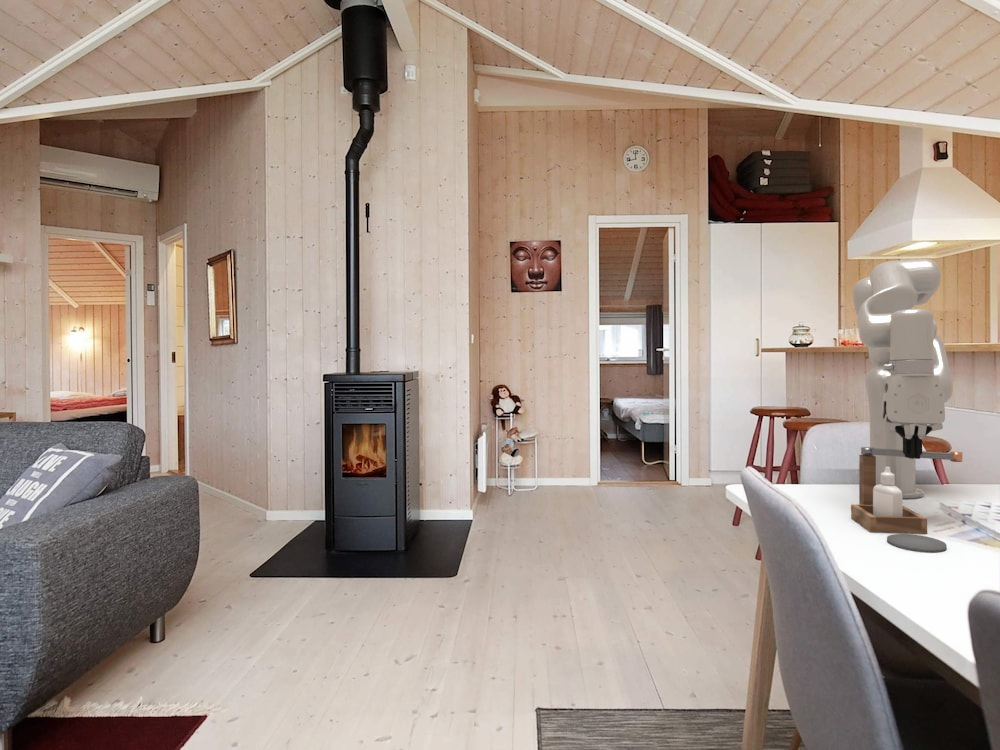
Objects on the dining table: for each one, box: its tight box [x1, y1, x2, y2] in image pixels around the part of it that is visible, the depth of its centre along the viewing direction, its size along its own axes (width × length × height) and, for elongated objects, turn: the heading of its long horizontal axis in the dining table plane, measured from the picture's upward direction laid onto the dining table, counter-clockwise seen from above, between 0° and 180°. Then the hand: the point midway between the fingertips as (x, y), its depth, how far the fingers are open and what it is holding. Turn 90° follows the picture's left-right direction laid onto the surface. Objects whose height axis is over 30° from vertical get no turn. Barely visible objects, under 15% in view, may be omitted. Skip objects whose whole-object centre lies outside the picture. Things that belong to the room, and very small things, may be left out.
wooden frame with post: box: [850, 454, 928, 535], centre depth 126 cm, size 16×10×13 cm, turn 169°
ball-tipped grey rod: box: [860, 446, 963, 463], centre depth 128 cm, size 18×2×2 cm, turn 55°
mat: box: [886, 533, 947, 553], centre depth 111 cm, size 9×9×1 cm
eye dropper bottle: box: [873, 467, 904, 517], centre depth 123 cm, size 4×6×12 cm
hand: (912, 457), depth 126 cm, fingers closed
